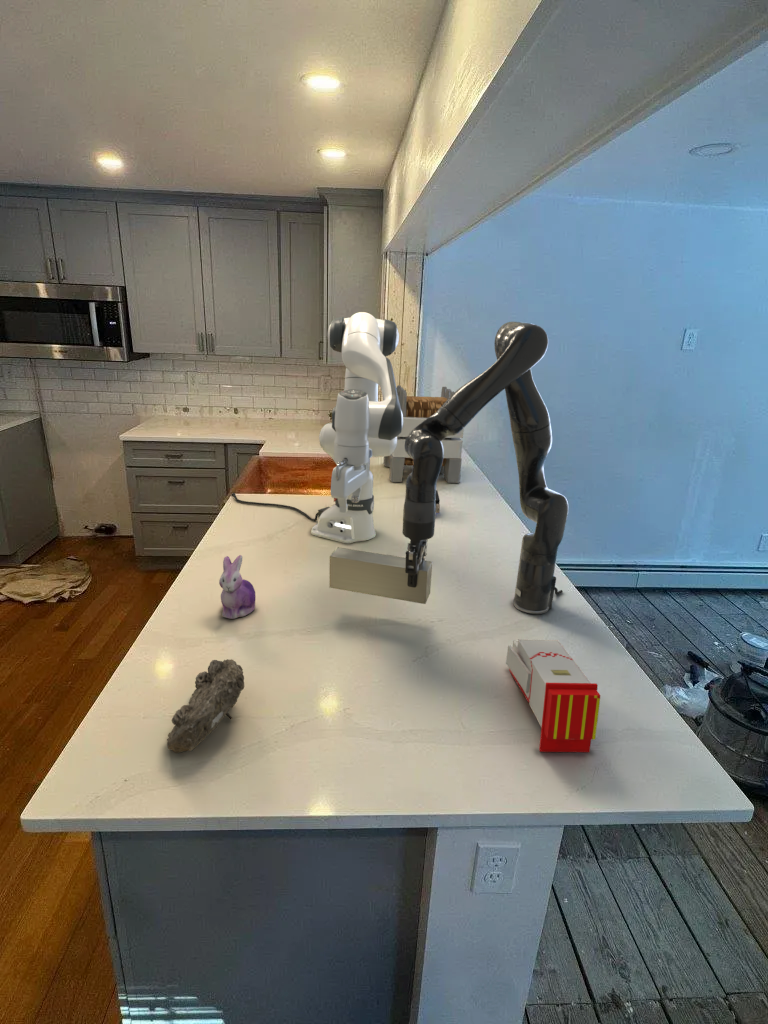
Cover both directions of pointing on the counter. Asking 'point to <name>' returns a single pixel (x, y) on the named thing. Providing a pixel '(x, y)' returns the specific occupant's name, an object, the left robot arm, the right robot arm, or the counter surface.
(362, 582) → the box
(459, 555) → the counter surface
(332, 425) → the left robot arm
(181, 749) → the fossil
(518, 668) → the toy
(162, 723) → the counter surface
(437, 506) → the figurine character
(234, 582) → the figurine
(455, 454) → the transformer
